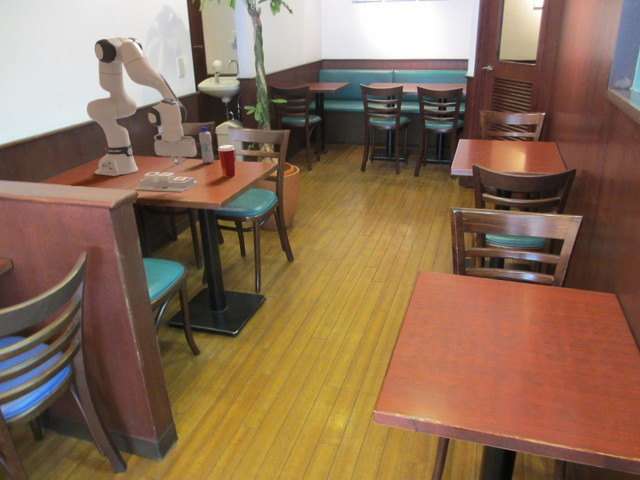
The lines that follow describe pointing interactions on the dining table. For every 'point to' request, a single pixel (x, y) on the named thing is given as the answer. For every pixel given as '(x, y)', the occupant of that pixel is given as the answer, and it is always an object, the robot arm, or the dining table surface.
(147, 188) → the keypad base
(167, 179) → the sage key
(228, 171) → the coffee cup
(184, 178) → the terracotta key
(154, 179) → the charcoal key
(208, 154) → the bottle
